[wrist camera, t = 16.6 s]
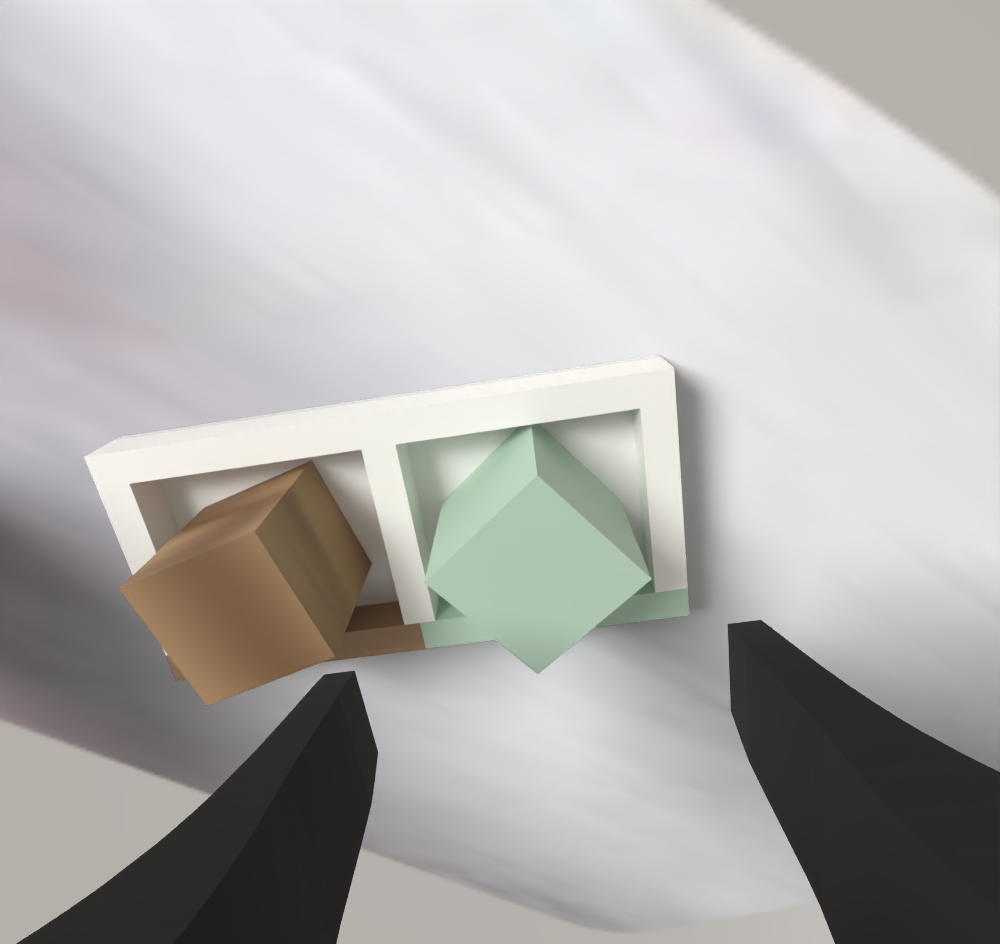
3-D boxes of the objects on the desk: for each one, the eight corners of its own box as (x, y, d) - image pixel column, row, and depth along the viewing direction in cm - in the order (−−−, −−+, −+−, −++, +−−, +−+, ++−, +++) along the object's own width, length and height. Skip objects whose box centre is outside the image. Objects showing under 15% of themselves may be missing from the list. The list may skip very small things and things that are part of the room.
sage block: (442, 501, 21) (424, 582, 16) (529, 415, 20) (536, 475, 15) (530, 577, 22) (537, 674, 17) (619, 498, 21) (651, 578, 16)
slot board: (200, 645, 24) (175, 680, 22) (120, 436, 21) (84, 456, 19) (674, 584, 22) (689, 615, 21) (659, 354, 20) (674, 367, 18)
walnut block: (269, 604, 22) (206, 705, 18) (204, 507, 21) (118, 589, 16) (372, 563, 22) (335, 656, 17) (311, 460, 20) (254, 531, 16)
